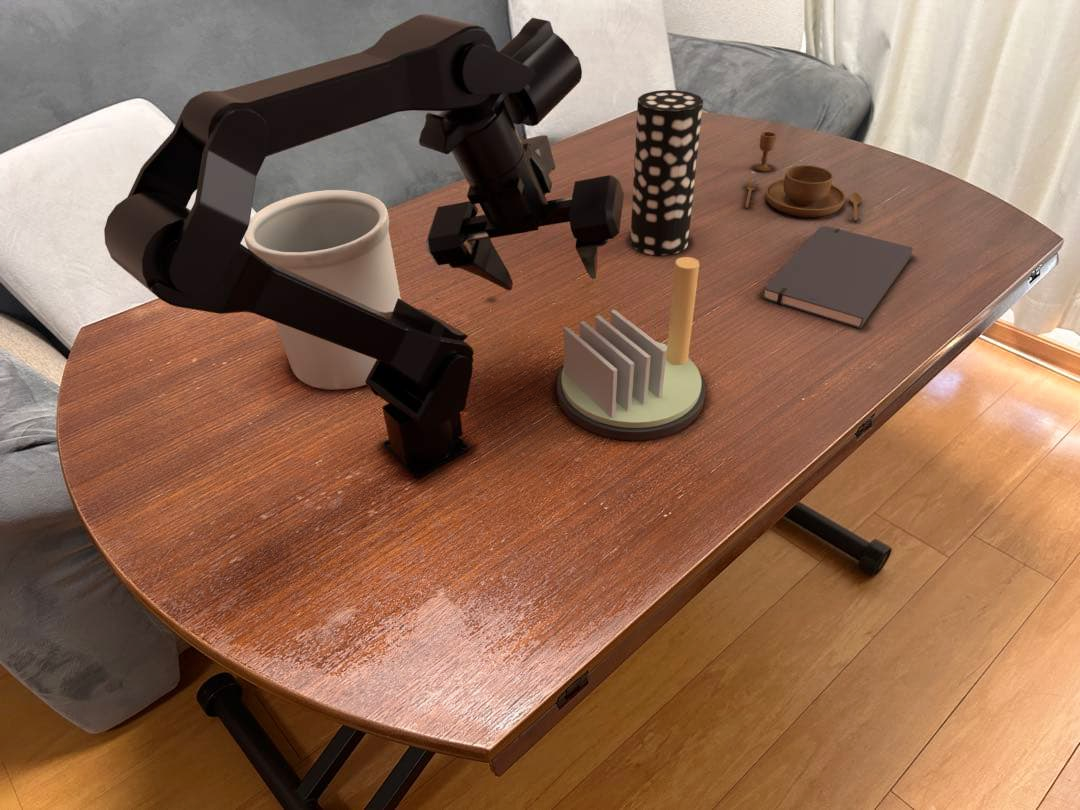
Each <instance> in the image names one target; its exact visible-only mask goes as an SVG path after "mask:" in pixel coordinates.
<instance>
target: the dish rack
mask: <svg viewBox="0 0 1080 810" xmlns="http://www.w3.org/2000/svg"><path fill="white" fill-rule="evenodd" d="M699 270H700V261H699V260H698V259H696V258H694V257H691V256H683V257H682V256H681V257H678V258H677V259H676V260H675V262H674V271H673V273H674V274H673V284H672V294H671V303H670V313H669V314H670V315H669V323H668V326H669V327H668V334H667V344H665V343H662V342H659V341H656V340H654V339H653V338H652V337H651V336H649V335H648V334H647V333H646V332H644V331H643V330H641V329H640V328H639V327H638V326H637V325H635V324H634V323H633V322H632V321H630V320H628V318H626V317H625V316H624V315H622V314H621V313H619V312H618V311H617V310H616V309H612V310H610V321H607V320H606V319H605V318H604V317H602V316H601V315H600V314H598V315H595V317H594V318H595V319H594V328H593V327H592V326H591V325H589V324H588V323H587V322H586V321H584V320H581V321H579V335H578V334H577V333H576V332H575V331H574V330H572V329H571V328H570V327H568V326H564V327H563V366H564V368H563V367H562V368H563V372H562V390H563V393H564V395H565V397H566V399H567V400H568V402H569V403H570V404H571V405H572V406H573V407H574V408H575V409H576V410H577V411H579V412H580V413H582V414H583V415H585V416H587V417H589V418H591V419H593V420H595V421H598V422H600V423H604V424H607V425H611V426H617V427H625V428H646V427H653V426H659V425H662V424H666V423H669V422H672V421H674V420H676V419H678V418H680V417H682V416H683V415H685V414H686V413H688V412H689V411H690V410H691V409H692V408H693V406H694V405H695V404H696V403H697V401H698V398H699V396H700V392H701V376H700V374H701V372H700V371H699V369H698V367H697V365H696V364H695V363H694V362H693V361H692V360H691V358H689V353H690V347H691V346H690V344H691V338H692V336H691V335H692V330H693V329H692V328H693V320H694V311H695V305H696V296H697V287H698V281H699V280H698V279H699ZM699 372H700V373H699Z"/></svg>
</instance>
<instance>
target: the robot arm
mask: <svg viewBox="0 0 1080 810" xmlns="http://www.w3.org/2000/svg"><path fill="white" fill-rule="evenodd" d="M582 76H583V69H582V64H581V61H580V58H579V57H578V56H577V55H575V53H574V51H573V50H572V48H571V47H570V46H569V44H568V43H567V42H566V41H565V40H564V39H563V38H562V37H561V36H559V35H558V34H556V33H555V32H554V30H553V27H552V23H551V21H550V20H546V19H541V18H536V17H532V18H530V19H529V20H528V21H527V22H526V23H525V24H524V25H523V26H522V27H521V29H520V31H519V32H518V33H517V34H516V35H515V36H514V37H513V38H512V39H511V40H510V41H509V42H508V43H507V44H506V45H505V46H504V47H503V48H502V49H500V50H497V46H496V43H495V42H494V40H493V38H492V35H490V34H489V32H487V30H486V28H485V27H483V26H480V25H476V24H472V23H468V22H465V21H459V20H454V19H450V18H446V17H442V16H437V15H433V14H427V13H425V14H422V13H421V14H418V15H415V16H413V17H412V18H409V19H407V20H406V21H404V22H402V23H400V24H397V25H396V26H394V27H392V28H391V29H389V30H387V31H385V32H384V33H383V34H382V35H381V37H379V39H378V40H377V41H376V42H375V44H374V45H372V46H370V47H368V48H366V49H364V50H363V51H360V52H358V53H354V54H350V55H345V56H343V57H339V58H335V59H332V60H328V61H325V62H322V63H318V64H314V65H311V66H307V67H304V68H300V69H296V70H293V71H289V72H286V73H283V74H279V75H274V76H270V77H267V78H265V79H260V80H257V81H254V82H249V83H247V84H243V85H240V86H239V85H238V86H236V87H235V86H234V87H232V88H228V89H225V90H220V91H218V90H217V91H215V90H207V91H203V92H200V93H199V94H197V95H195V96H193V97H190V99H188V101H187V103H186V104H185V105H184V106H183V109H182V111H181V112H180V115H179V117H178V119H177V121H176V123H175V126H174V128H173V129H172V131H171V133H170V134H169V135H168V136H167V138H165V140H164V141H163V142H162V143H161V144H160V145H159V146H158V148H157V149H156V150H155V151H154V152H153V153H152V154H151V155H150V157H149V158H147V160H146V161H145V162H144V164H143V165H142V166H141V168H140V170H139V171H138V174H137V175H136V178H135V180H134V182H133V184H132V186H131V188H130V190H129V193H128V195H127V196H126V197H125V198H124V199H123V200H121V201H120V202H119V203H117V204H116V205H115V206H114V208H113V209H112V210H111V212H110V213H109V215H107V219H106V221H105V226H104V229H103V233H104V234H103V235H104V245H105V247H106V249H107V251H108V253H109V256H110V258H111V259H112V260H113V261H114V262H115V263H116V264H117V265H118V266H119V267H120V268H122V269H123V270H124V271H125V272H126V273H128V274H129V275H130V276H131V277H133V278H134V279H135V280H136V281H137V282H139V283H140V284H141V285H142V286H143V287H144V288H146V289H147V290H148V291H150V293H152V294H153V295H155V296H156V297H157V298H158V299H160V300H161V301H163V302H164V303H165V304H168V305H170V306H174V307H177V308H182V309H183V308H184V309H188V310H194V311H200V312H207V313H212V314H218V315H227V314H239V313H249V314H254V315H257V316H260V317H263V318H265V319H268V320H270V321H273V322H275V321H276V322H278V323H281V324H284V325H286V326H289V327H292V328H294V329H297V330H300V331H302V332H305V333H308V334H310V335H313V336H316V337H318V338H321V339H324V340H326V341H329V342H332V343H334V344H337V345H340V346H342V347H345V348H348V349H350V350H353V351H356V352H358V353H361V354H364V355H366V356H369V357H372V358H374V359H377V360H376V362H375V364H374V366H373V368H372V369H371V371H370V373H369V375H368V377H367V379H366V381H365V383H366V385H365V386H367V388H369V390H370V391H371V392H372V394H373V395H375V396H376V397H379V398H380V399H381V400H383V401H384V402H386V403H387V404H385V405H383V406H382V412H383V418H384V422H385V427H386V431H387V437H388V439H386V440H385V441H384V442H382V447H383V449H384V450H385V451H386V453H388V454H389V455H390V456H391V457H392V458H393V459H394V460H395V461H396V462H397V463H398V464H399V465H400V466H401V467H402V468H403V469H404V470H405V471H406V472H407V473H408V474H409V475H411V477H412V478H413V479H415V480H419V479H422V478H423V477H426V476H427V475H429V474H431V473H433V472H434V471H437V470H438V469H440V468H441V467H443V466H445V465H447V464H449V463H451V462H452V461H454V460H456V459H458V458H460V457H462V456H463V455H464V454H467V453H468V452H469V451H470V446H469V444H468V443H467V442H466V441H464V439H462V438H461V437H463V424H462V417H461V413H462V412H463V411H464V410H465V409H466V405H467V400H468V396H469V392H470V391H469V390H470V385H471V381H472V375H473V370H474V366H473V364H474V354H475V351H474V349H473V347H472V346H471V345H470V344H469V343H467V342H466V341H465V340H466V339H468V334H466V333H465V332H463V331H461V330H460V329H457V328H456V327H454V326H453V325H451V324H449V323H447V322H445V321H444V320H442V319H440V318H438V317H437V316H435V315H434V314H432V313H430V312H429V311H427V310H425V309H423V308H416V307H415V306H413V305H411V304H409V303H407V302H406V301H404V300H403V299H402V298H401V299H399V298H398V299H397V302H396V305H395V308H394V310H393V311H392V312H380V311H377V310H375V309H373V308H371V307H368V306H366V305H364V304H362V303H359V302H357V301H355V300H353V299H351V298H348V297H346V296H344V295H342V294H340V293H337V292H335V291H333V290H331V289H329V288H326V287H324V286H322V285H320V284H317V283H315V282H313V281H311V280H309V279H306V278H304V277H302V276H300V275H298V274H295V273H293V272H291V271H289V270H287V269H284V268H282V267H280V266H278V265H276V264H273V263H271V262H269V261H267V260H264V259H262V258H260V257H258V256H257V255H256V254H254V253H253V252H252V251H250V250H249V249H248V247H247V246H245V245H244V244H242V241H243V239H244V235H245V233H246V231H247V229H248V226H249V223H250V219H251V217H252V216H251V215H252V209H253V202H254V194H255V187H256V181H257V176H258V174H259V172H260V170H261V168H262V165H263V163H264V161H265V160H266V157H270V156H272V155H275V154H279V153H281V152H285V151H288V150H290V149H293V148H296V147H299V146H301V145H302V146H303V145H305V144H308V143H311V142H314V141H316V140H320V139H322V138H325V137H329V136H331V135H335V134H337V133H340V132H343V131H345V130H349V129H351V128H355V127H358V126H360V125H364V124H366V123H370V122H372V121H375V120H379V119H381V118H384V117H387V116H390V115H393V114H396V113H400V112H409V111H417V112H419V111H421V112H427V113H426V114H425V122H424V126H423V127H422V129H421V131H420V135H419V139H418V145H419V146H420V147H422V148H426V149H428V150H431V151H434V152H437V153H441V154H444V155H449V154H450V153H452V156H453V157H454V159H455V161H456V162H457V165H458V166H459V168H460V170H461V172H462V174H463V176H464V177H465V180H466V181H467V184H468V186H469V187H468V191H467V195H466V198H467V199H468V201H462V202H458V203H452V204H446V205H441V206H437V208H436V211H435V213H434V215H433V219H432V222H431V225H430V228H429V231H428V233H427V234H428V235H427V238H426V241H425V244H426V245H425V246H426V251H427V252H428V254H429V255H430V257H431V258H432V260H433V262H434V263H435V264H436V265H437V266H443V265H449V267H450V268H451V269H461V270H463V271H466V272H468V273H471V274H473V275H476V276H478V277H480V278H483V279H485V280H486V281H488V282H491V283H493V284H495V285H496V286H498V287H501V288H502V289H504V290H507V291H511V290H513V286H514V282H513V279H512V276H511V274H510V272H509V270H508V267H506V265H505V263H504V262H503V260H502V258H501V256H500V255H499V253H498V251H497V249H496V247H495V246H494V244H493V241H492V240H491V239H494V238H500V237H506V236H512V235H519V234H525V233H529V232H535V231H539V227H545V226H551V225H557V224H564V223H569V225H570V231H571V233H572V235H573V238H574V239H576V240H575V246H574V247H575V249H576V252H577V254H578V256H579V258H580V260H581V262H582V264H583V267H584V269H585V271H586V273H587V275H588V276H589V277H590V278H591V279H592V280H595V279H596V278H597V273H598V248H599V247H603V246H605V245H607V243H608V241H609V240H613V239H614V238H615V237H616V236H618V235H619V234H620V230H621V229H620V228H621V221H622V213H623V206H624V198H625V197H624V196H625V193H624V190H623V187H622V185H621V182H620V180H619V179H618V178H617V177H615V176H614V175H611V174H608V175H603V176H598V177H592V178H586V179H581V180H576V181H574V184H573V190H572V196H567V197H561V198H556V199H550V200H548V199H547V197H546V195H547V194H550V193H551V191H552V188H553V182H552V180H551V177H550V174H551V172H552V171H555V169H556V164H555V160H554V156H553V153H552V149H551V145H550V141H549V138H548V135H546V134H545V135H538V136H532V137H529V138H524V139H521V138H520V136H519V133H518V131H517V128H516V127H515V125H521V124H523V125H525V126H529V127H535V126H538V125H539V124H540V123H541V122H542V121H543V119H544V118H546V117H547V115H549V114H550V112H551V111H553V110H554V109H555V107H557V106H558V105H559V104H560V103H561V102H562V100H564V99H565V97H567V95H568V94H569V93H571V92H572V91H573V90H574V89H575V88H576V87H577V85H578V84H580V82H581V80H582ZM432 112H439V113H438V114H435V113H432ZM195 192H196V193H195ZM194 193H195V199H194V203H193V205H192V207H191V209H190V208H188V207H187V206H188V204H189V203H190V200H191V198H192V196H193V195H194ZM477 204H479V206H480V208H481V210H482V212H483V213H484V214H482V215H478V212H479V209H478V207H477Z"/></svg>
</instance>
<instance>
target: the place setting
mask: <svg viewBox="0 0 1080 810" xmlns="http://www.w3.org/2000/svg"><path fill="white" fill-rule="evenodd" d="M759 138H760V139H759V149H760V150H761V151H762V157H761V158H760V159H761V160H760V161H761V163H759V164H755V166H754V169H755V170H756V171H757V172H763V173H765V172H766V173H767V172H770V171H772V166H771V165H768V164H766V163H768V160H769V158H768V155H769V152H771V151H772V150H773V149H774V147H775V144H776V138H777V133H776V132H773V131H763V132H761V133H760V137H759ZM833 178H834V175H833V173H832V172H831V171H830V170H828V169H826V168H825V167H821V166H817V165H808V164H801V165H794V166H792V167H789V168H787V169H786V171H785V173H784V178H781V179H778V180H775V181H773V182H770V183H769V184H768V185H767V186H766V188H765V193H764V194H765V195H764V196H765V200H766V201H767V203H768V204H769V205H770V206H771V207H772V208H774V209H776V210H777V211H779V212H782V213H783V214H785V215H790V216H794V217H800V218H820V217H824V216H829V215H831V214H834V213H836V212H838V211H839V210H840V209H841V208H842V207H843V206H844V204H845V201H846V198H847V197H846V196H847V195H846V193H845V192H844V191H843V190H842V189H841V188H840V187H838V186H837V185H835V184H832V182H833ZM756 184H757V179H755V178H754V179H752V180H750V179H748V180H747V184H746V190H747V191H748V192H747V196H746V200H745V208H747V209H748V208H749V205H750V202H751V197H752V191H754V190H755V189H756ZM862 199H863V198H862V196H861V194H859V193H858V192H852V193H851V194H850V195H849V196H848V200H849V202H850V203H851V204H853V210H852V219H853V221H857V219H858V204H860V203H861V201H862Z"/></svg>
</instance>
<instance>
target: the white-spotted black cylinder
mask: <svg viewBox="0 0 1080 810" xmlns="http://www.w3.org/2000/svg"><path fill="white" fill-rule="evenodd" d="M637 98H638V99H637V105H636V106H637V108H636V127H635V145H634V162H633V163H634V165H633V179H632V180H633V182H632V199H631V200H632V201H631V202H632V203H631V219H630V239H629V241H630V245H631V247H633V248H634V249H635V250H636V251H638V252H640V253H643V254H647V255H652V256H671V255H675V254H679V253H681V252H683V251H684V250H685V249H687V247H688V246H689V238H690V229H691V221H692V220H691V219H692V211H693V200H694V193H695V182H696V172H697V164H698V154H699V146H700V145H699V144H700V133H701V125H702V116H703V106H704V99H703V98H702V96H700V95H698V94H696V93H693V92H690V91H685V90H677V89H676V90H675V89H663V90H661V89H660V90H654V91H649V92H646V93H642V94H641V95H640V96H639V97H637Z"/></svg>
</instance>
